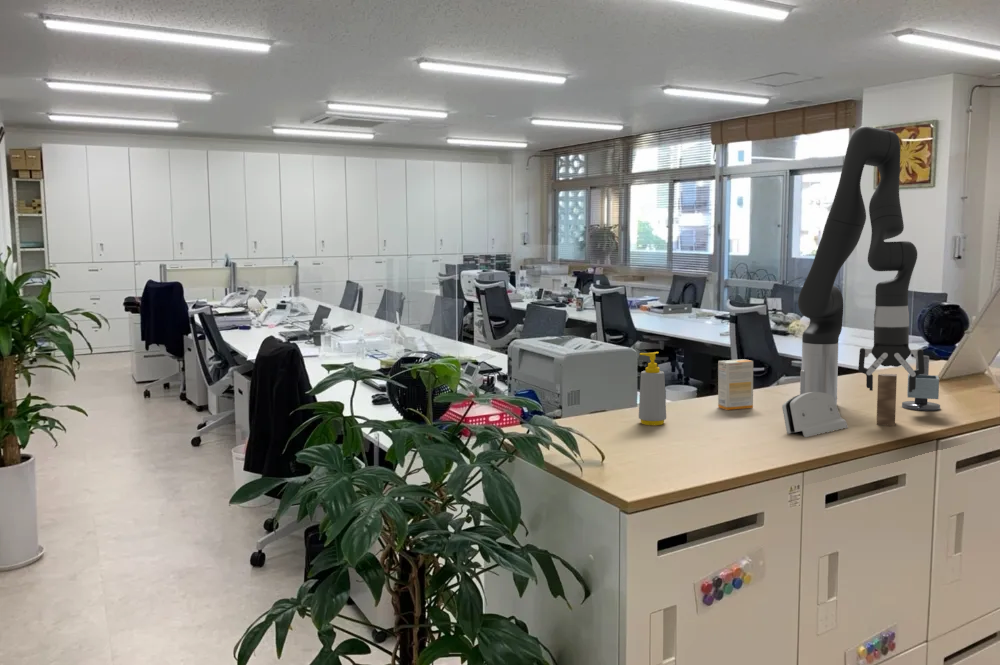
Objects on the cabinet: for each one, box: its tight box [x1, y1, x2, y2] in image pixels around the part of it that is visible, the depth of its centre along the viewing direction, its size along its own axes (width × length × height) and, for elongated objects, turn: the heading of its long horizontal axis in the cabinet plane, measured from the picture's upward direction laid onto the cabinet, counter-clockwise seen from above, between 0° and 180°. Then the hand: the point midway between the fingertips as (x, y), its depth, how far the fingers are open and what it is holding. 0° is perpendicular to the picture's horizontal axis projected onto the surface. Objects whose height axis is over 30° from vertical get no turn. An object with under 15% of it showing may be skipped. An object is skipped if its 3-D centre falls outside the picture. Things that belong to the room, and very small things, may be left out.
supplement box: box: [717, 358, 754, 411], centre depth 208 cm, size 8×5×13 cm, turn 105°
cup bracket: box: [901, 355, 941, 412], centre depth 200 cm, size 9×19×14 cm, turn 152°
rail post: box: [876, 373, 898, 427], centre depth 186 cm, size 4×4×12 cm
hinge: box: [781, 392, 849, 438], centre depth 181 cm, size 17×5×10 cm, turn 122°
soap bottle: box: [638, 351, 667, 426], centre depth 190 cm, size 7×7×18 cm
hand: (890, 390), depth 186 cm, fingers open, 8 cm apart
